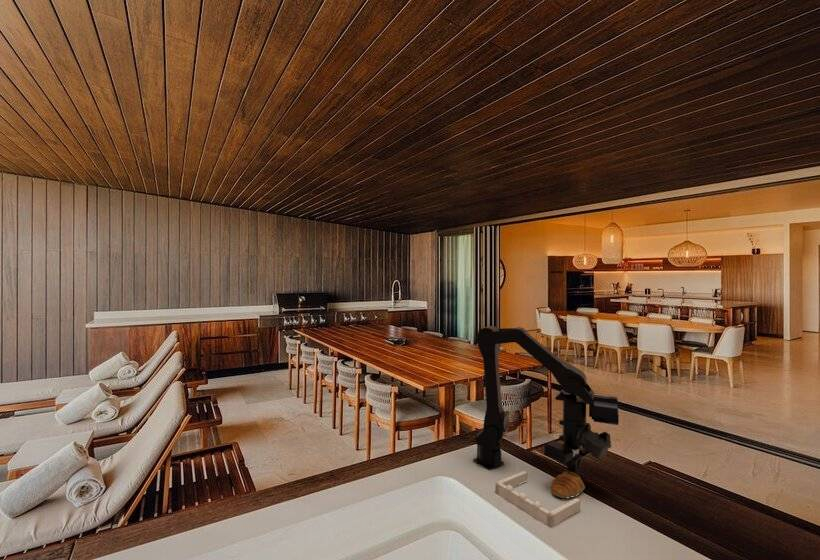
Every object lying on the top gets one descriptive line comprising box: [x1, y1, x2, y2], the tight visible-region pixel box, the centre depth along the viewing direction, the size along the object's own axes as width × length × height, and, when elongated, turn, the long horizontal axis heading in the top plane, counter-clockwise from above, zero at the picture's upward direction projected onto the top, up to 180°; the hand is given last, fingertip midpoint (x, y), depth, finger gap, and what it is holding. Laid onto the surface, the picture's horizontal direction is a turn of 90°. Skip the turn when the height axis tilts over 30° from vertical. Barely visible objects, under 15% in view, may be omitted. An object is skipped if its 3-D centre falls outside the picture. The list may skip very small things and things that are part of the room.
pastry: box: [550, 471, 586, 499], centre depth 96 cm, size 9×7×4 cm
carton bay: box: [494, 470, 581, 528], centre depth 91 cm, size 16×11×3 cm
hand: (573, 477), depth 100 cm, fingers closed
